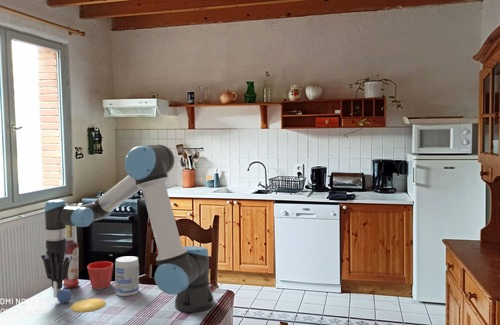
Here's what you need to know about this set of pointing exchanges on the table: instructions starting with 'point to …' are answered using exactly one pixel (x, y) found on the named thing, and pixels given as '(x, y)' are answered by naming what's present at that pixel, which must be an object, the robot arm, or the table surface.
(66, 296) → the ball
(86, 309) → the disc
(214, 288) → the table surface
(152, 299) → the table surface
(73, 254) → the liquor
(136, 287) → the supplement tub
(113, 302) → the table surface
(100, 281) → the flower pot
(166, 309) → the table surface
